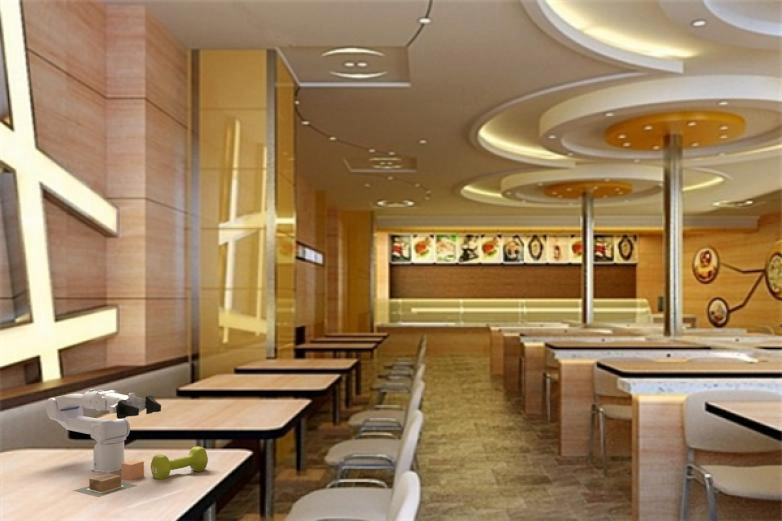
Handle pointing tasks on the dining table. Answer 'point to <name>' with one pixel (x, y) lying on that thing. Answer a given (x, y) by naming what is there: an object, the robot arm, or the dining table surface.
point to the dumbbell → (179, 463)
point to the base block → (105, 482)
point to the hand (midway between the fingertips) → (149, 410)
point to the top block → (132, 469)
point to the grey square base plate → (98, 494)
